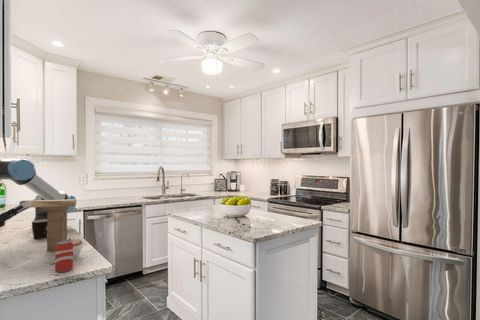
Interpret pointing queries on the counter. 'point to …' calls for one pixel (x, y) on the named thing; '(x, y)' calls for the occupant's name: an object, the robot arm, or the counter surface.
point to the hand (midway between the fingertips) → (35, 200)
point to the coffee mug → (39, 228)
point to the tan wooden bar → (51, 203)
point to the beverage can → (64, 256)
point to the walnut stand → (55, 225)
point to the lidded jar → (76, 246)
